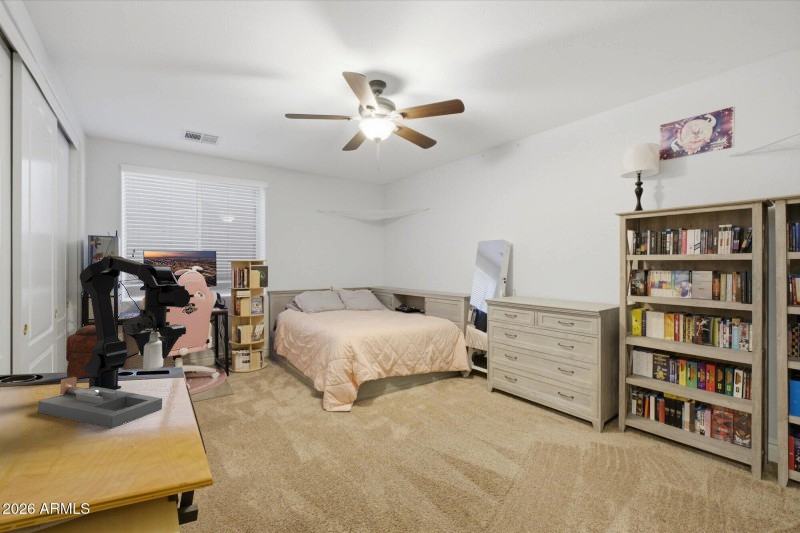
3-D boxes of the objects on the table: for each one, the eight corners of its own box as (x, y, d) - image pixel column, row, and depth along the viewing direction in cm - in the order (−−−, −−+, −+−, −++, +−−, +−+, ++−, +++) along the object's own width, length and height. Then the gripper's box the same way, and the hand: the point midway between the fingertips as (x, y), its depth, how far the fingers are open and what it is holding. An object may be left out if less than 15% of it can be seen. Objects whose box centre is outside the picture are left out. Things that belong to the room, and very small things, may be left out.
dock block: (92, 396, 111) (93, 381, 111) (161, 408, 103) (162, 393, 103) (37, 412, 98) (38, 395, 98) (112, 428, 90) (112, 410, 90)
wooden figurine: (107, 371, 136) (109, 322, 137) (110, 374, 132) (112, 325, 132) (64, 376, 128) (66, 325, 128) (65, 381, 123) (68, 328, 124)
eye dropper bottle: (166, 368, 112) (167, 329, 112) (144, 371, 107) (146, 331, 107) (160, 365, 114) (162, 327, 114) (139, 368, 110) (141, 329, 110)
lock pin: (72, 391, 106) (73, 376, 106) (102, 396, 102) (103, 381, 102) (60, 394, 103) (61, 379, 103) (90, 400, 99) (91, 385, 99)
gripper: (105, 306, 106) (103, 359, 106) (154, 310, 101) (152, 366, 100) (142, 303, 117) (140, 352, 116) (188, 306, 111) (186, 357, 111)
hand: (153, 357), depth 111 cm, fingers closed on eye dropper bottle, 8 cm apart
